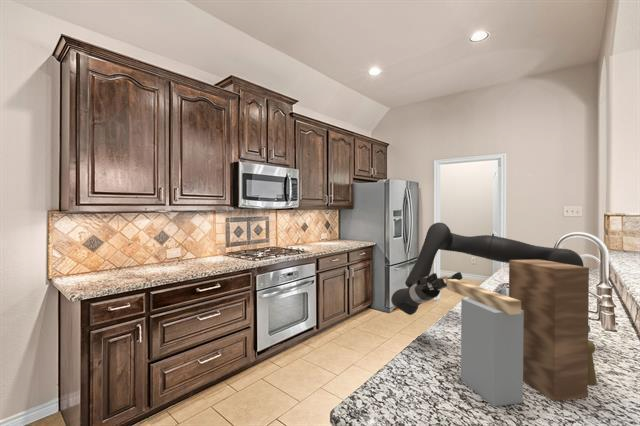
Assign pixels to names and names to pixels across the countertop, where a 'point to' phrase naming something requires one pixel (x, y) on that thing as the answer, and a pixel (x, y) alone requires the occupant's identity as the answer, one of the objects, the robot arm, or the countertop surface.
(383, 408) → the countertop surface
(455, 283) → the beech bar
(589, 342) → the cork
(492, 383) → the grey rectangular block
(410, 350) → the countertop surface
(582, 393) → the tall walnut stand
